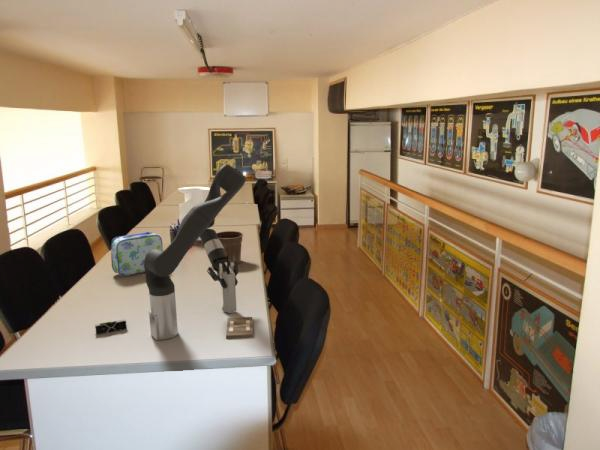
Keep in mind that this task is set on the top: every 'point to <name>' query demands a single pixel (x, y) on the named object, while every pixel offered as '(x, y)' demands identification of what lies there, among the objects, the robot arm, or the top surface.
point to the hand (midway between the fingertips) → (230, 286)
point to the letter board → (239, 327)
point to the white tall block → (192, 200)
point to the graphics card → (110, 326)
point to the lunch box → (133, 252)
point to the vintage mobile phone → (229, 291)
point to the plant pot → (231, 244)
